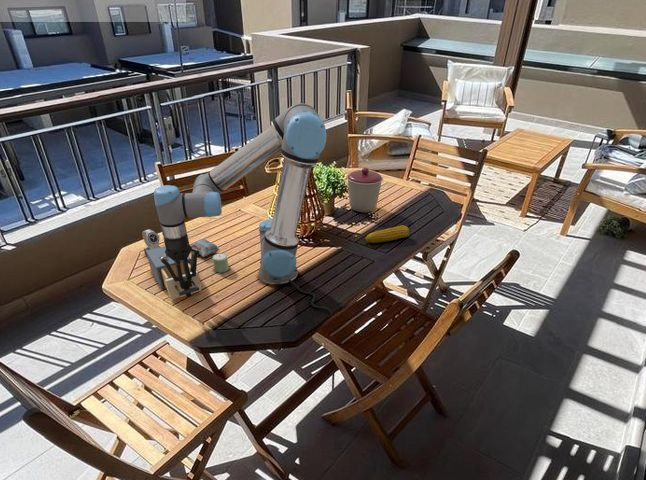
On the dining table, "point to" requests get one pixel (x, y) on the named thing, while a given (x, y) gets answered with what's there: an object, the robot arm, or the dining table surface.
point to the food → (388, 234)
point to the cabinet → (159, 263)
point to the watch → (150, 240)
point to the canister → (364, 189)
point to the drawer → (173, 286)
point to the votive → (220, 263)
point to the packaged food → (205, 247)
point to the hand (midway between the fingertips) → (188, 294)
